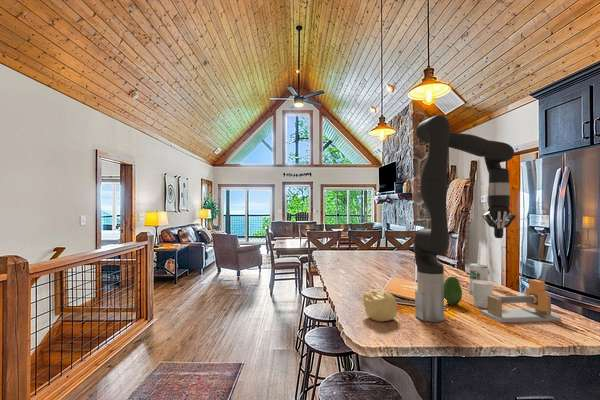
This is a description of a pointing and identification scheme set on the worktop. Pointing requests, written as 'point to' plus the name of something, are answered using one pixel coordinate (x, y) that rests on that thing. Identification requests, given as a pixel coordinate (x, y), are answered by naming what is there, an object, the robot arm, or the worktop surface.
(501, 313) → the pipe stand
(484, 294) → the white cup
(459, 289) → the avocado
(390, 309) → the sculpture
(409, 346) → the worktop surface
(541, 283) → the collar
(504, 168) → the robot arm
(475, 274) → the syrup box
